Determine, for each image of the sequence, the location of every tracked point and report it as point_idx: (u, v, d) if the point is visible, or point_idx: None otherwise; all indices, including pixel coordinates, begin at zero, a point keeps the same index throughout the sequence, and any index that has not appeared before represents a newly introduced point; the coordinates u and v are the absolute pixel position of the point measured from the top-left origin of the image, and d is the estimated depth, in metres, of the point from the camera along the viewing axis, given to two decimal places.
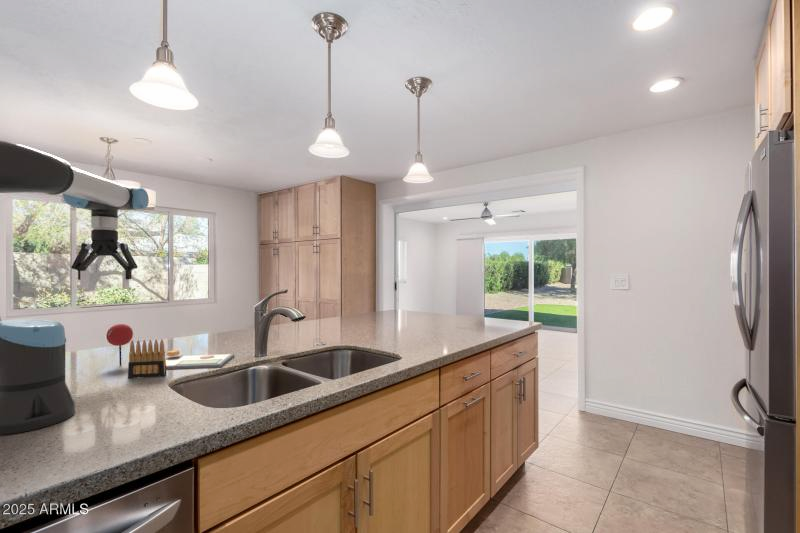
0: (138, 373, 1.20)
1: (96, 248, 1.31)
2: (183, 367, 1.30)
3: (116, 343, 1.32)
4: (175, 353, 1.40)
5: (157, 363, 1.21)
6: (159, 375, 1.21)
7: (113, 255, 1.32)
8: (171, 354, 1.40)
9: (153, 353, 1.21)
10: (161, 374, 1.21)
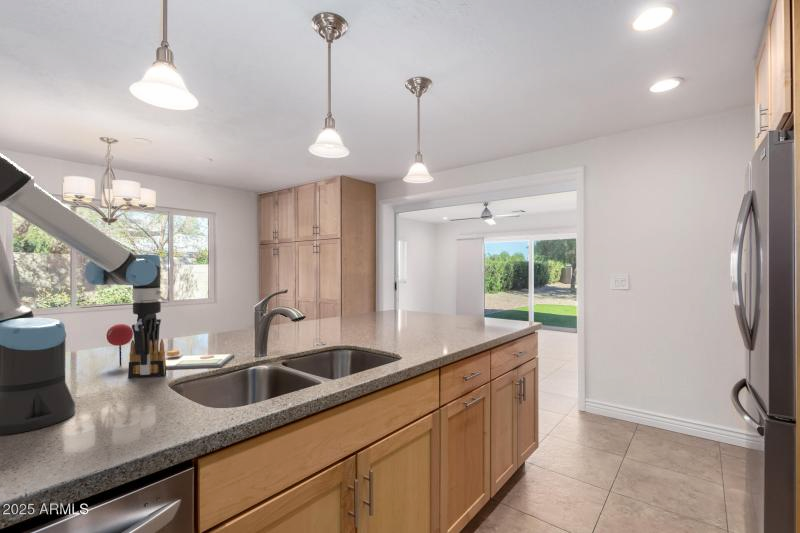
0: (138, 373, 1.20)
1: None
2: (183, 367, 1.30)
3: (116, 343, 1.32)
4: (175, 353, 1.40)
5: (157, 363, 1.21)
6: (159, 375, 1.21)
7: None
8: (171, 354, 1.40)
9: (153, 353, 1.21)
10: (161, 374, 1.21)
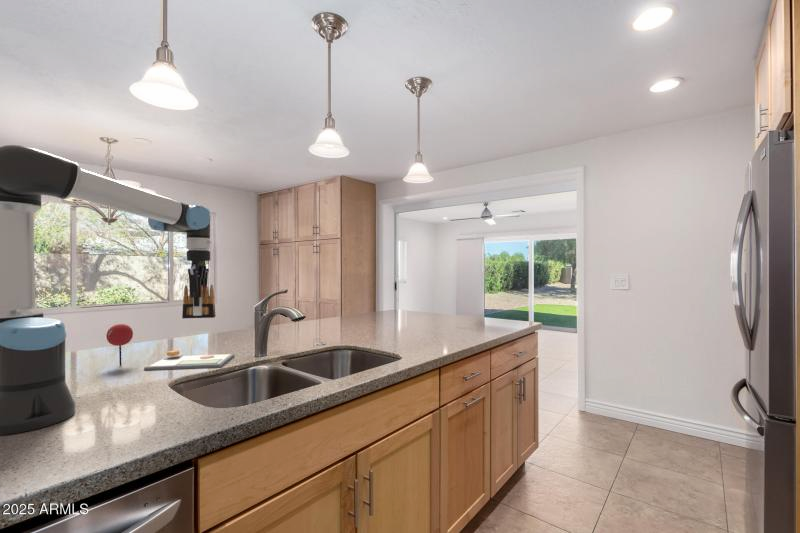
0: (191, 314, 1.34)
1: None
2: (183, 367, 1.30)
3: (116, 343, 1.32)
4: (175, 353, 1.40)
5: (208, 305, 1.34)
6: (209, 316, 1.34)
7: None
8: (171, 354, 1.40)
9: (204, 296, 1.35)
10: (211, 315, 1.34)
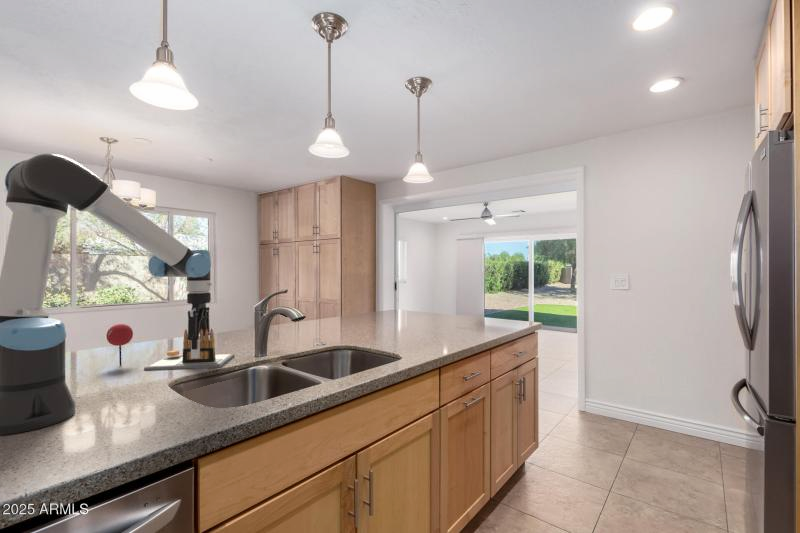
0: None
1: None
2: (183, 367, 1.30)
3: (116, 343, 1.32)
4: (175, 353, 1.40)
5: (208, 350, 1.34)
6: (209, 361, 1.34)
7: None
8: (171, 354, 1.40)
9: (204, 341, 1.34)
10: (211, 360, 1.35)
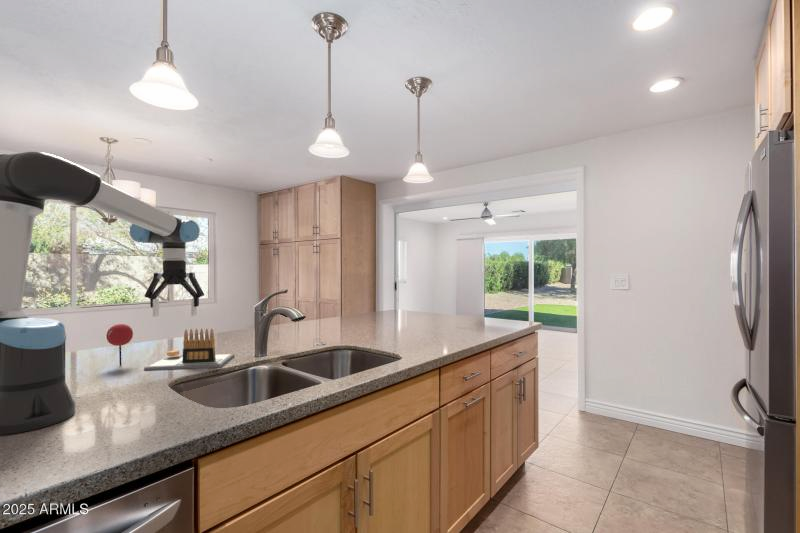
0: (191, 358, 1.34)
1: (167, 278, 1.39)
2: (183, 367, 1.30)
3: (116, 343, 1.32)
4: (175, 353, 1.40)
5: (208, 350, 1.34)
6: (209, 361, 1.34)
7: (183, 284, 1.40)
8: (171, 354, 1.40)
9: (204, 341, 1.35)
10: (211, 360, 1.35)
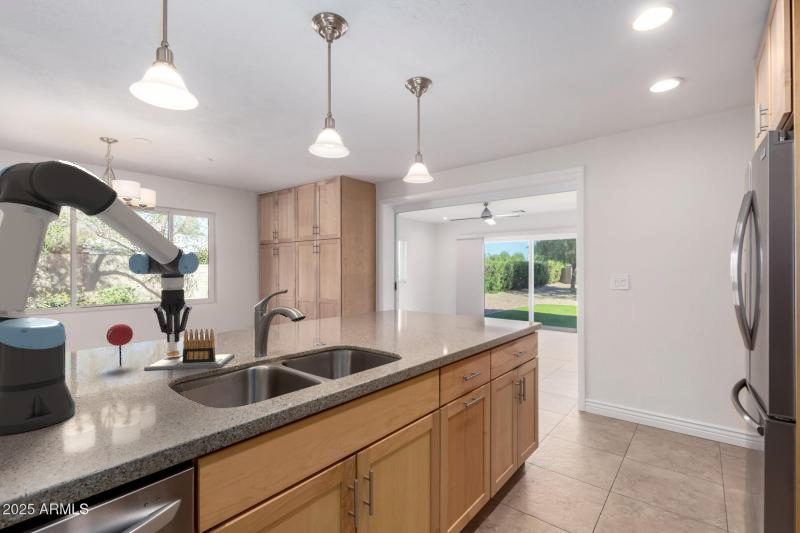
0: (191, 358, 1.34)
1: (167, 307, 1.39)
2: (183, 367, 1.30)
3: (116, 343, 1.32)
4: (175, 353, 1.40)
5: (208, 350, 1.34)
6: (209, 361, 1.34)
7: (174, 315, 1.40)
8: (171, 354, 1.40)
9: (204, 341, 1.35)
10: (211, 360, 1.35)
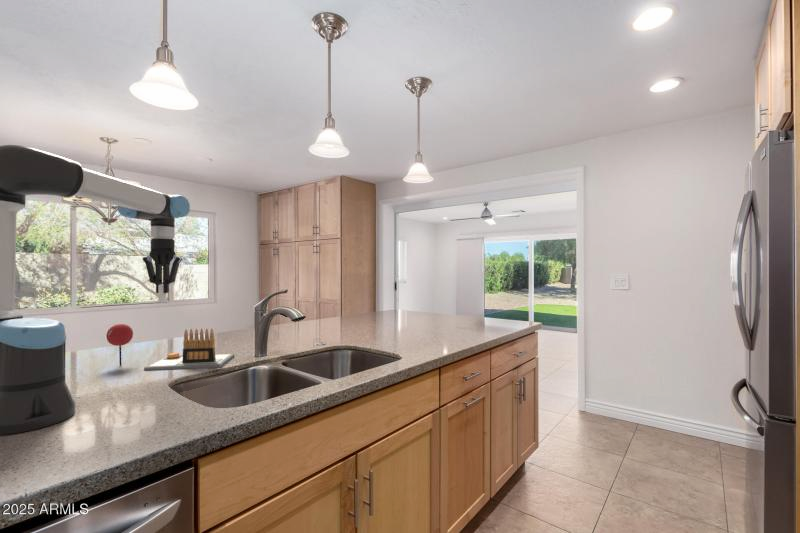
0: (191, 358, 1.34)
1: (156, 257, 1.36)
2: (183, 367, 1.30)
3: (116, 343, 1.32)
4: (175, 355, 1.40)
5: (208, 350, 1.34)
6: (209, 361, 1.34)
7: (164, 265, 1.37)
8: (171, 357, 1.40)
9: (204, 341, 1.35)
10: (211, 360, 1.35)
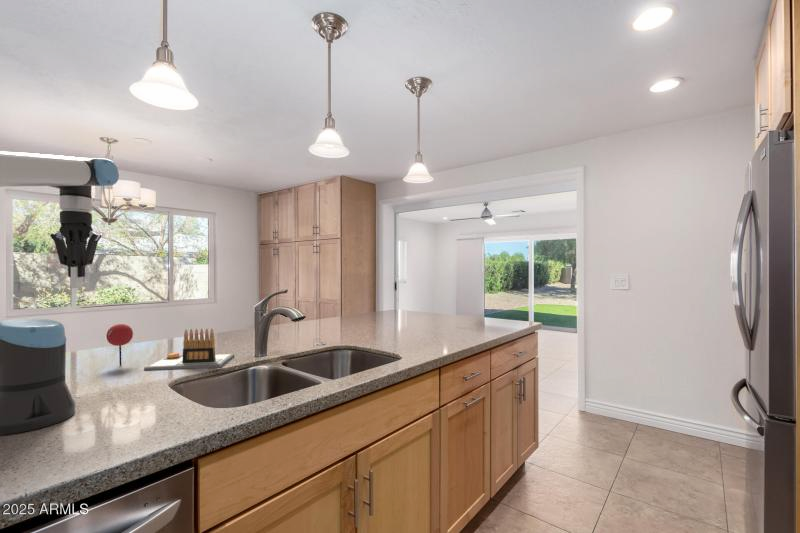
0: (191, 358, 1.34)
1: (67, 233, 1.13)
2: (183, 367, 1.30)
3: (116, 343, 1.32)
4: (175, 355, 1.40)
5: (208, 350, 1.34)
6: (209, 361, 1.34)
7: (77, 244, 1.14)
8: (171, 357, 1.40)
9: (204, 341, 1.35)
10: (211, 360, 1.35)
